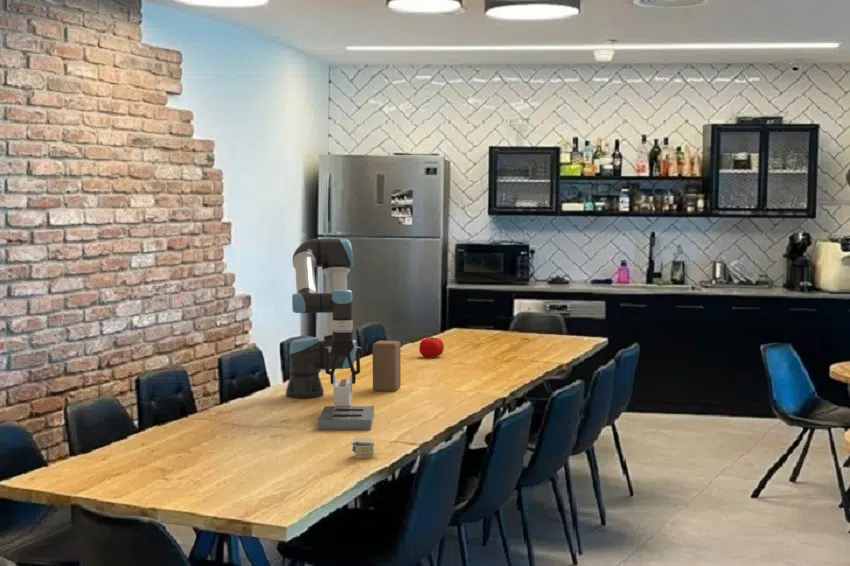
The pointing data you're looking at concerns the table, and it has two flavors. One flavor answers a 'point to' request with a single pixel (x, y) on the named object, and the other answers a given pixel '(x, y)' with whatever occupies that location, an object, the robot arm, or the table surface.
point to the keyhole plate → (346, 418)
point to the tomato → (431, 347)
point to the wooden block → (386, 366)
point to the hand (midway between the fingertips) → (343, 392)
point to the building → (363, 447)
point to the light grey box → (342, 393)
